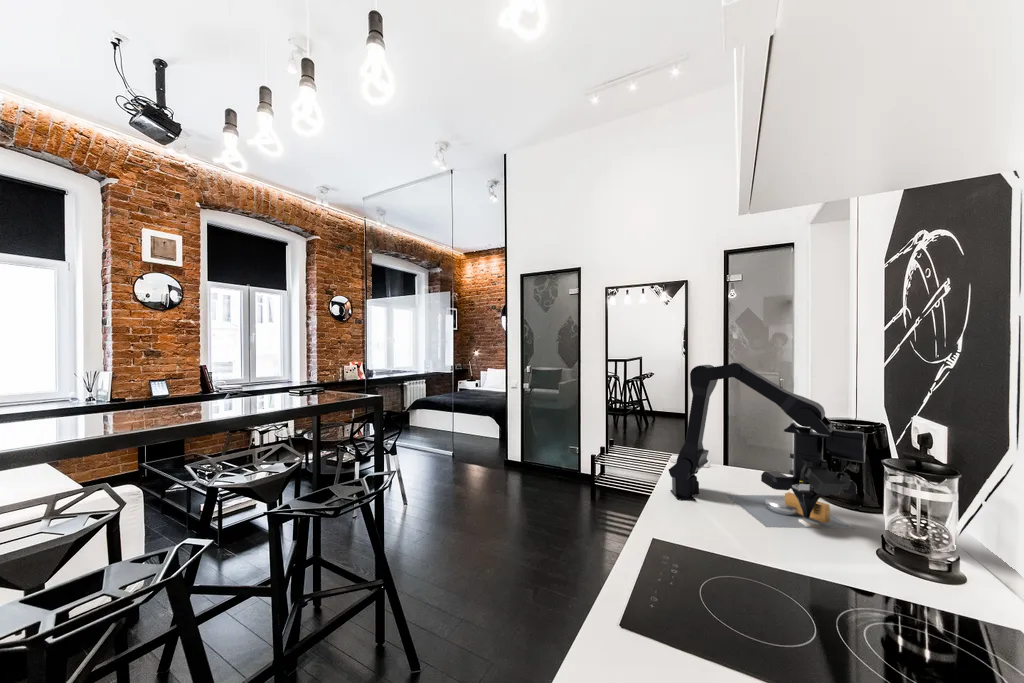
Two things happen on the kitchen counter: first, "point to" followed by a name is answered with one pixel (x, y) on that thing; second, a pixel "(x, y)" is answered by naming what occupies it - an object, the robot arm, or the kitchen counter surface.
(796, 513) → the dial
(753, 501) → the board
